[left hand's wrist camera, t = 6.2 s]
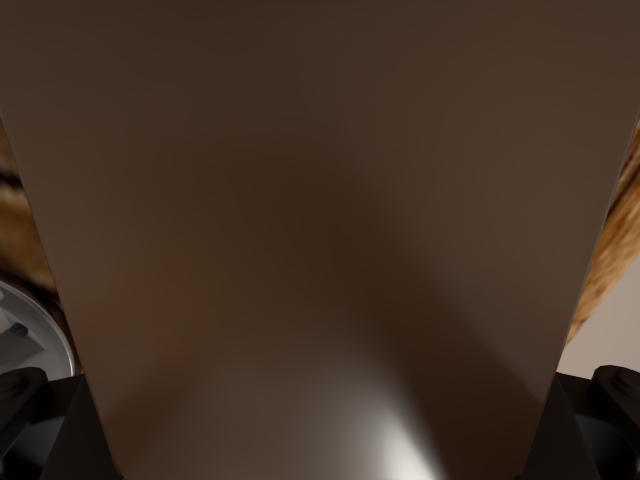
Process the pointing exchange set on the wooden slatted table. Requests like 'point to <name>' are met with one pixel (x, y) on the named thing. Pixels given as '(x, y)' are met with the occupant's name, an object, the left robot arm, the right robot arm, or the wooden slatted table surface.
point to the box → (319, 220)
